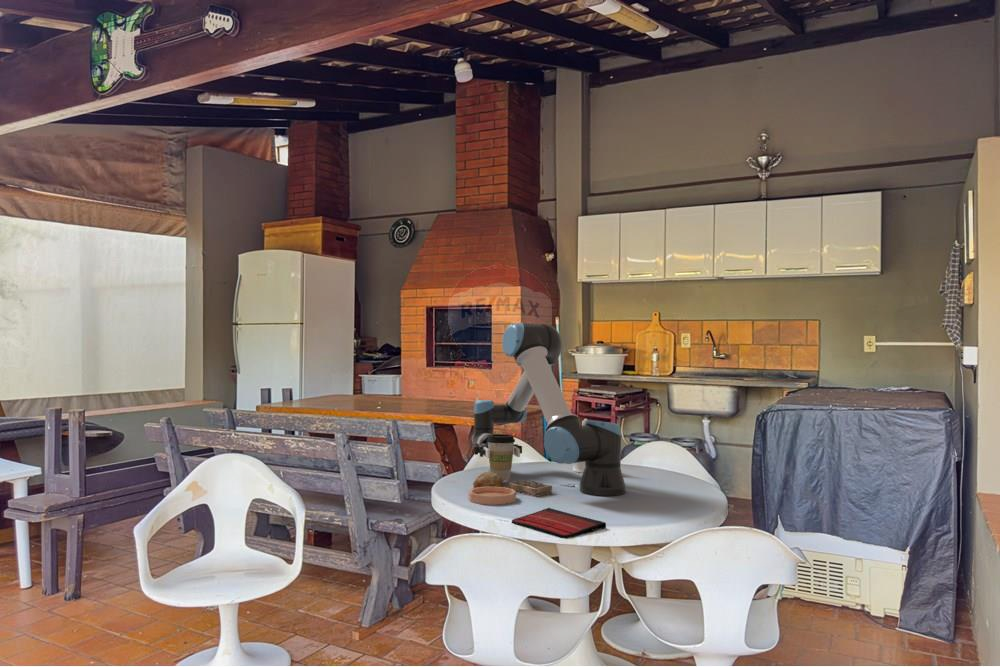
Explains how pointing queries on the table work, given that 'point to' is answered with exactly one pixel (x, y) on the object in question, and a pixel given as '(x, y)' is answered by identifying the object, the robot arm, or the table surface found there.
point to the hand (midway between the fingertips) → (503, 453)
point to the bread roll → (488, 480)
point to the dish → (492, 495)
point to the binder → (559, 523)
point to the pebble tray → (530, 487)
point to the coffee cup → (501, 454)
